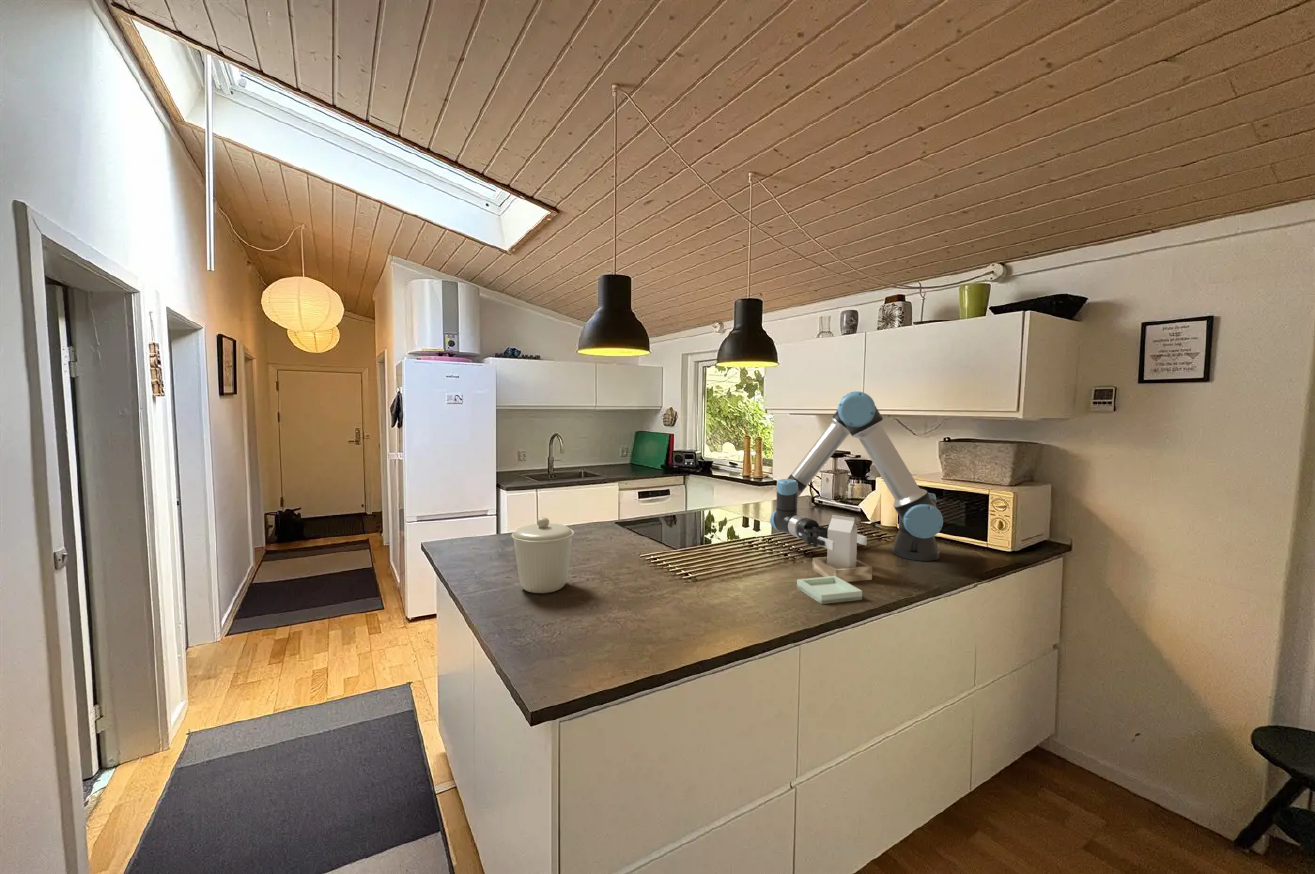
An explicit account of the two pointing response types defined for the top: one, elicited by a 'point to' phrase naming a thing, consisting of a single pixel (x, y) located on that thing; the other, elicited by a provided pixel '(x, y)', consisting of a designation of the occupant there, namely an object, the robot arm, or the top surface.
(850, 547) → the milk carton
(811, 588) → the tray
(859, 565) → the holder
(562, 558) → the canister
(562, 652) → the top surface
